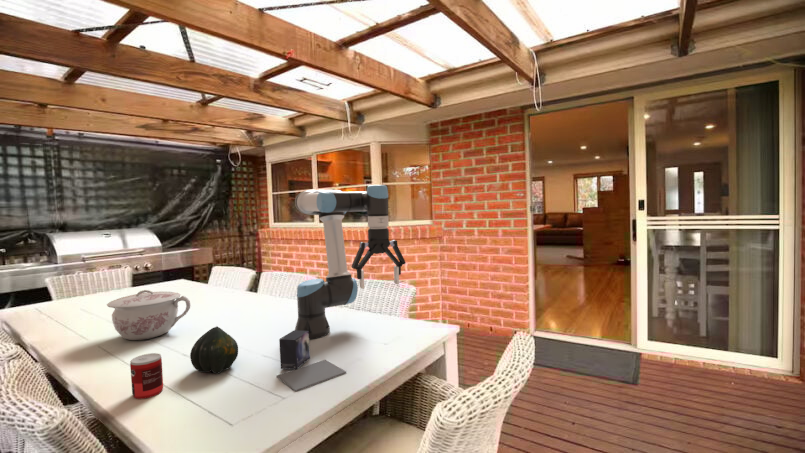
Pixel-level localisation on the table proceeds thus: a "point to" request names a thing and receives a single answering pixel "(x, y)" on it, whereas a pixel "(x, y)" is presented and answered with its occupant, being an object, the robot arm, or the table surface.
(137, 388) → the canned food
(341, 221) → the robot arm
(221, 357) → the squash
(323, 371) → the mat
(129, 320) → the chamber pot
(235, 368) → the table surface
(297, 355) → the small box
